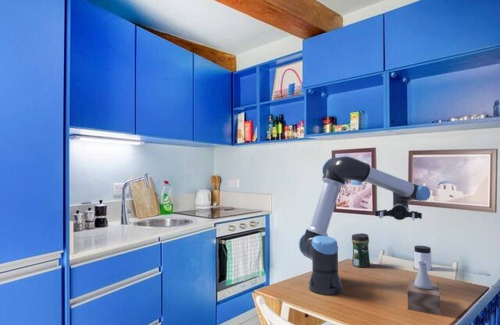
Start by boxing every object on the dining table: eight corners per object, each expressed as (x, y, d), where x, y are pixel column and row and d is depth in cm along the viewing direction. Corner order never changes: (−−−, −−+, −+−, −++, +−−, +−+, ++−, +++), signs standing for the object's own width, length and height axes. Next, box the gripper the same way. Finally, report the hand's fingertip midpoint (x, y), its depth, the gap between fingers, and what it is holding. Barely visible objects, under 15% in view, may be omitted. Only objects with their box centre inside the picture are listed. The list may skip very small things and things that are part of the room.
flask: (436, 290, 124) (435, 264, 124) (416, 289, 125) (416, 264, 126) (429, 284, 131) (428, 260, 131) (410, 283, 132) (410, 259, 133)
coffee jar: (362, 263, 190) (361, 232, 191) (372, 266, 183) (371, 234, 183) (349, 264, 186) (349, 233, 187) (359, 268, 179) (358, 235, 179)
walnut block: (407, 309, 123) (407, 291, 124) (409, 295, 137) (408, 279, 138) (440, 314, 118) (440, 295, 118) (438, 300, 132) (438, 283, 132)
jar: (435, 269, 175) (434, 248, 175) (424, 271, 172) (424, 249, 173) (421, 265, 183) (421, 244, 184) (411, 267, 180) (410, 246, 181)
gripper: (427, 220, 157) (428, 226, 138) (374, 217, 169) (368, 222, 150) (427, 205, 157) (427, 209, 138) (373, 203, 169) (367, 206, 150)
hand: (396, 216), depth 144 cm, fingers open, 13 cm apart
